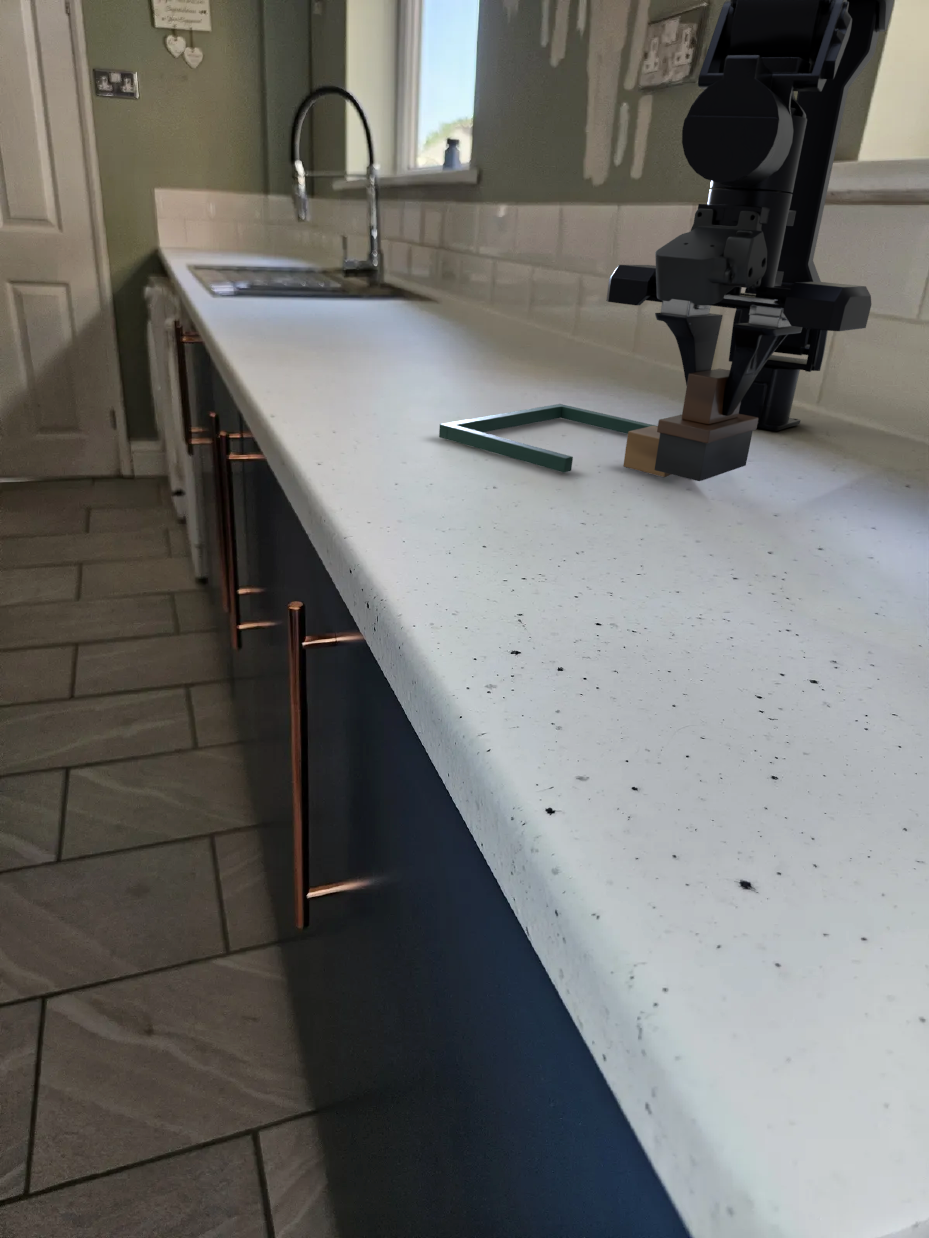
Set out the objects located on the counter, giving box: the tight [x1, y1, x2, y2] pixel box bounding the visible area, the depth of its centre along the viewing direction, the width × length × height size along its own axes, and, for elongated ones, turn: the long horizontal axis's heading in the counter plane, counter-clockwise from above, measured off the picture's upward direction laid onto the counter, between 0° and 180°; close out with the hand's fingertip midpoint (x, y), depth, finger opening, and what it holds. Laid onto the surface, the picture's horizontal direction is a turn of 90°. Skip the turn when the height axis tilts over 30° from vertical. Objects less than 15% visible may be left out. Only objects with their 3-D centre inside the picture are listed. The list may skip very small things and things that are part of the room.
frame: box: [438, 403, 658, 474], centre depth 80 cm, size 18×14×1 cm
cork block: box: [622, 425, 673, 478], centre depth 72 cm, size 4×4×3 cm
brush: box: [654, 368, 759, 482], centre depth 69 cm, size 8×4×8 cm, turn 138°
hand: (710, 411), depth 69 cm, fingers closed on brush, 2 cm apart
